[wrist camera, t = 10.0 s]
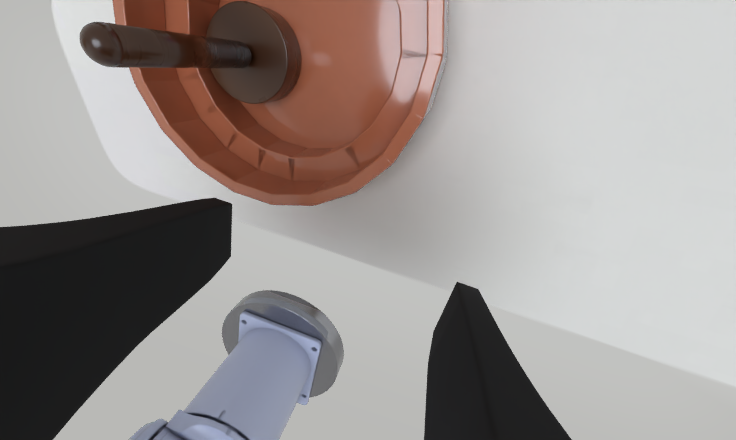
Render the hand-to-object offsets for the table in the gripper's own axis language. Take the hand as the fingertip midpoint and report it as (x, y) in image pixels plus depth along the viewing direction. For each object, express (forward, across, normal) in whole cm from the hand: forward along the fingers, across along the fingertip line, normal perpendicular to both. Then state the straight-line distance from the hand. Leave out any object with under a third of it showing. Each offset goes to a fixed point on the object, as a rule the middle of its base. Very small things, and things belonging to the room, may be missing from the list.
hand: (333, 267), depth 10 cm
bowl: (+10, +6, -5) cm, 13 cm away
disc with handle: (+10, +9, -4) cm, 14 cm away
